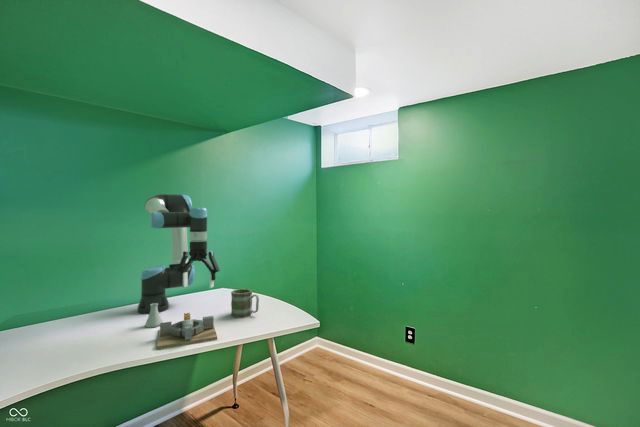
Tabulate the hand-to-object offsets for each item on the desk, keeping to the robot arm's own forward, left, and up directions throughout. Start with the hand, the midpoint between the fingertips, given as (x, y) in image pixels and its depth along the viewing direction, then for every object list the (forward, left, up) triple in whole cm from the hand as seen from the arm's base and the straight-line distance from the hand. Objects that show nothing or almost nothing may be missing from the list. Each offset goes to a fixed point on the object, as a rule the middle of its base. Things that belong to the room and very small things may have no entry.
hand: (198, 287), depth 138 cm
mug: (-7, +23, -19) cm, 31 cm away
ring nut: (+8, -5, -17) cm, 19 cm away
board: (+8, -5, -18) cm, 21 cm away
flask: (-11, -19, -19) cm, 29 cm away
